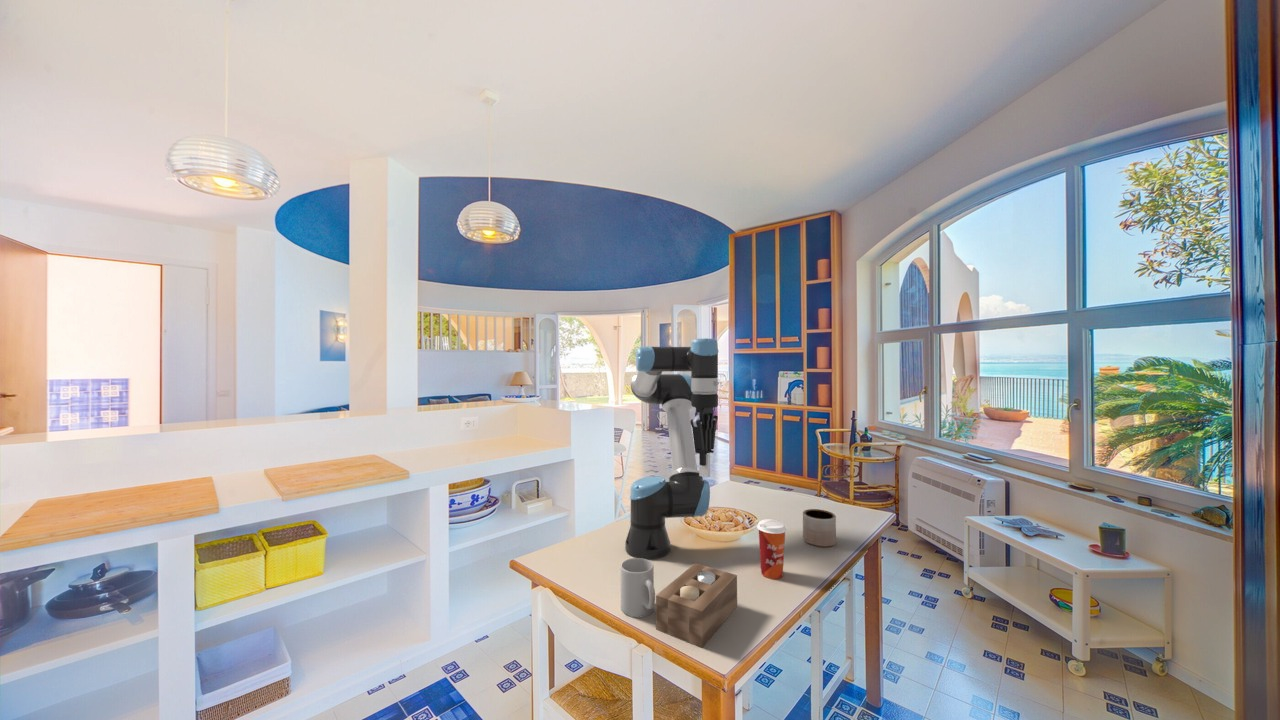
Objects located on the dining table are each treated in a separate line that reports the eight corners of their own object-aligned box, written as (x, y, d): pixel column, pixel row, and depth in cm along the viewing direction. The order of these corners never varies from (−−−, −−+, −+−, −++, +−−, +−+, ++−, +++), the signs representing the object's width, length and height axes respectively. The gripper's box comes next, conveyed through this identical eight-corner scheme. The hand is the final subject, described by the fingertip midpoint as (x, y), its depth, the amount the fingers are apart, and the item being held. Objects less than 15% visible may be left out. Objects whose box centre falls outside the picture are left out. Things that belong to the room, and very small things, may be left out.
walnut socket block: (656, 629, 104) (655, 595, 104) (695, 592, 121) (695, 563, 121) (702, 647, 97) (702, 611, 97) (737, 606, 114) (737, 575, 114)
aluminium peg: (694, 608, 112) (694, 576, 112) (702, 600, 116) (702, 569, 116) (710, 613, 110) (710, 581, 110) (718, 605, 113) (718, 574, 113)
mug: (614, 604, 115) (614, 562, 115) (642, 595, 119) (642, 555, 119) (638, 629, 104) (638, 582, 104) (668, 618, 109) (668, 573, 109)
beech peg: (676, 625, 105) (676, 591, 105) (685, 616, 108) (685, 583, 108) (693, 632, 102) (693, 597, 102) (702, 622, 106) (702, 589, 106)
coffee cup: (771, 583, 125) (771, 530, 125) (751, 571, 133) (751, 521, 133) (793, 577, 129) (792, 525, 129) (772, 565, 136) (772, 516, 136)
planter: (807, 533, 162) (807, 506, 162) (839, 539, 156) (839, 512, 156) (798, 542, 153) (798, 515, 153) (832, 550, 147) (832, 521, 147)
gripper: (706, 395, 118) (706, 483, 118) (726, 392, 129) (726, 473, 129) (681, 393, 122) (681, 479, 122) (702, 391, 133) (703, 469, 133)
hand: (704, 476), depth 126 cm, fingers closed
